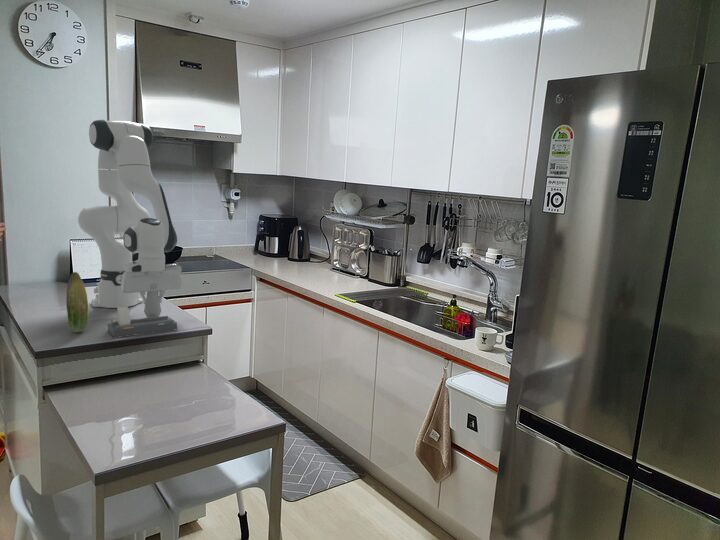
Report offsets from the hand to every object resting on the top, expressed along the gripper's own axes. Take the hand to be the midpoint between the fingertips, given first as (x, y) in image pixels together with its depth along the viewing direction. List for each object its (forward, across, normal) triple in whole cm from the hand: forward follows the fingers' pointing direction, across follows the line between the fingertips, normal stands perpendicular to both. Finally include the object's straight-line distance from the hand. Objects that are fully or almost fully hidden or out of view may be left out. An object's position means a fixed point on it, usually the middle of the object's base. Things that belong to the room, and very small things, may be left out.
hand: (152, 303), depth 191 cm
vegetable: (+7, +24, +4) cm, 26 cm away
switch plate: (+6, +6, +10) cm, 13 cm away
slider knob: (+4, +12, +10) cm, 16 cm away
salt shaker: (+5, 0, 0) cm, 5 cm away
